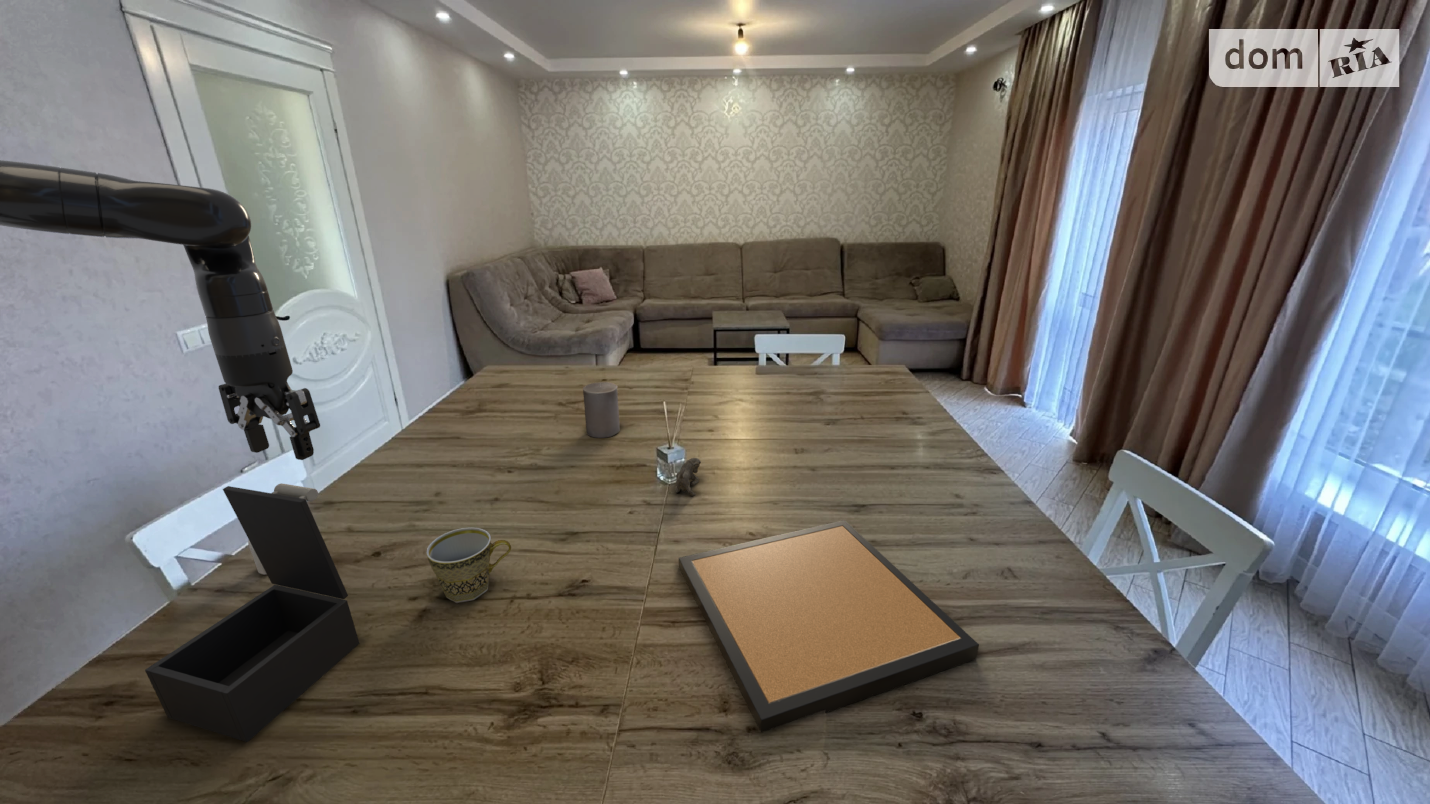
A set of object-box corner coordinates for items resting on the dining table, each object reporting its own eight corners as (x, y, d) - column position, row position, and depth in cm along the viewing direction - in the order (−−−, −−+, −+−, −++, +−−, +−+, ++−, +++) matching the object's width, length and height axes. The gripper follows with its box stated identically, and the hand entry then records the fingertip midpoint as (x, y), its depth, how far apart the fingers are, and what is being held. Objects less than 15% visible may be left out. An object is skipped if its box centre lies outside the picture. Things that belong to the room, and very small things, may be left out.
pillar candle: (585, 427, 164) (580, 379, 158) (618, 423, 166) (614, 376, 161) (588, 440, 155) (583, 390, 150) (622, 435, 158) (619, 386, 153)
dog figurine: (694, 501, 124) (694, 472, 121) (670, 498, 125) (669, 469, 123) (706, 476, 135) (706, 449, 132) (684, 474, 136) (683, 447, 133)
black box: (249, 746, 69) (226, 693, 66) (169, 721, 72) (144, 669, 69) (360, 646, 84) (347, 600, 81) (290, 629, 88) (274, 584, 85)
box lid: (300, 502, 73) (333, 480, 77) (222, 489, 76) (258, 468, 81) (344, 599, 81) (372, 574, 85) (271, 583, 84) (302, 560, 88)
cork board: (843, 531, 113) (678, 570, 101) (844, 519, 112) (678, 557, 100) (975, 659, 82) (760, 736, 70) (979, 644, 81) (761, 720, 69)
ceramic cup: (431, 617, 90) (420, 567, 87) (442, 579, 99) (432, 531, 96) (515, 603, 93) (507, 553, 90) (518, 567, 102) (511, 520, 99)
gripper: (181, 349, 73) (219, 459, 79) (261, 357, 69) (295, 472, 75) (240, 336, 80) (271, 438, 85) (316, 343, 76) (344, 449, 82)
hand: (283, 454), depth 80 cm, fingers open, 8 cm apart
